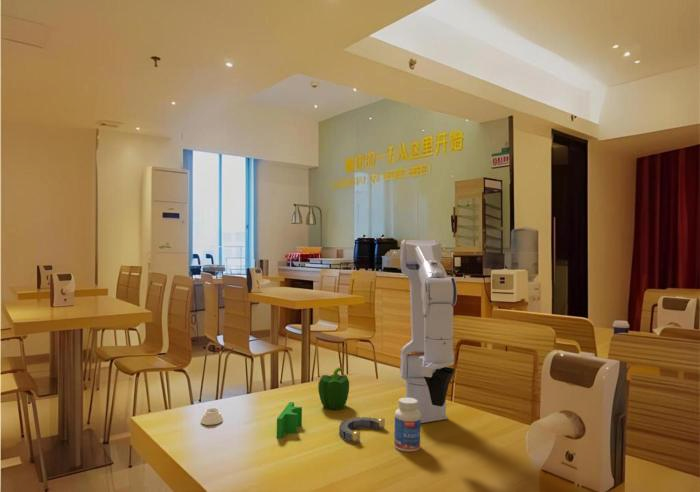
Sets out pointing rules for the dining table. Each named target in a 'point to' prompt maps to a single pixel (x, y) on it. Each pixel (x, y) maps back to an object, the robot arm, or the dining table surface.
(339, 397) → the bell pepper
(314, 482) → the dining table surface
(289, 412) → the pipe clamp
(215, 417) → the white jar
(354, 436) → the snap ring
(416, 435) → the pill bottle
